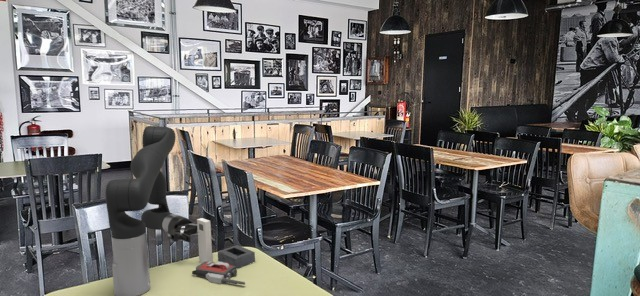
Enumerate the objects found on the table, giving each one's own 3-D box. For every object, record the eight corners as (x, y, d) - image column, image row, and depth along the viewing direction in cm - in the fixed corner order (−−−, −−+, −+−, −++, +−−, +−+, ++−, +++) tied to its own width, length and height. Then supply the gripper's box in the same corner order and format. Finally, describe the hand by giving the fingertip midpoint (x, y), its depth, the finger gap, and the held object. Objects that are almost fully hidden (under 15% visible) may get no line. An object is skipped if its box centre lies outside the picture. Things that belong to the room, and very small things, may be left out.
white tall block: (199, 262, 148) (196, 219, 146) (204, 260, 149) (202, 217, 147) (207, 266, 144) (204, 222, 142) (212, 264, 146) (210, 220, 144)
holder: (218, 261, 148) (217, 251, 148) (237, 254, 154) (237, 244, 154) (235, 269, 142) (234, 259, 141) (255, 261, 147) (254, 252, 147)
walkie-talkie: (187, 279, 135) (243, 289, 128) (186, 266, 135) (242, 275, 127) (204, 268, 144) (258, 277, 136) (204, 255, 143) (257, 264, 136)
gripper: (157, 220, 153) (181, 230, 141) (194, 211, 163) (218, 220, 152) (159, 241, 154) (182, 252, 143) (195, 231, 164) (219, 241, 153)
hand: (201, 235), depth 147 cm, fingers open, 8 cm apart
